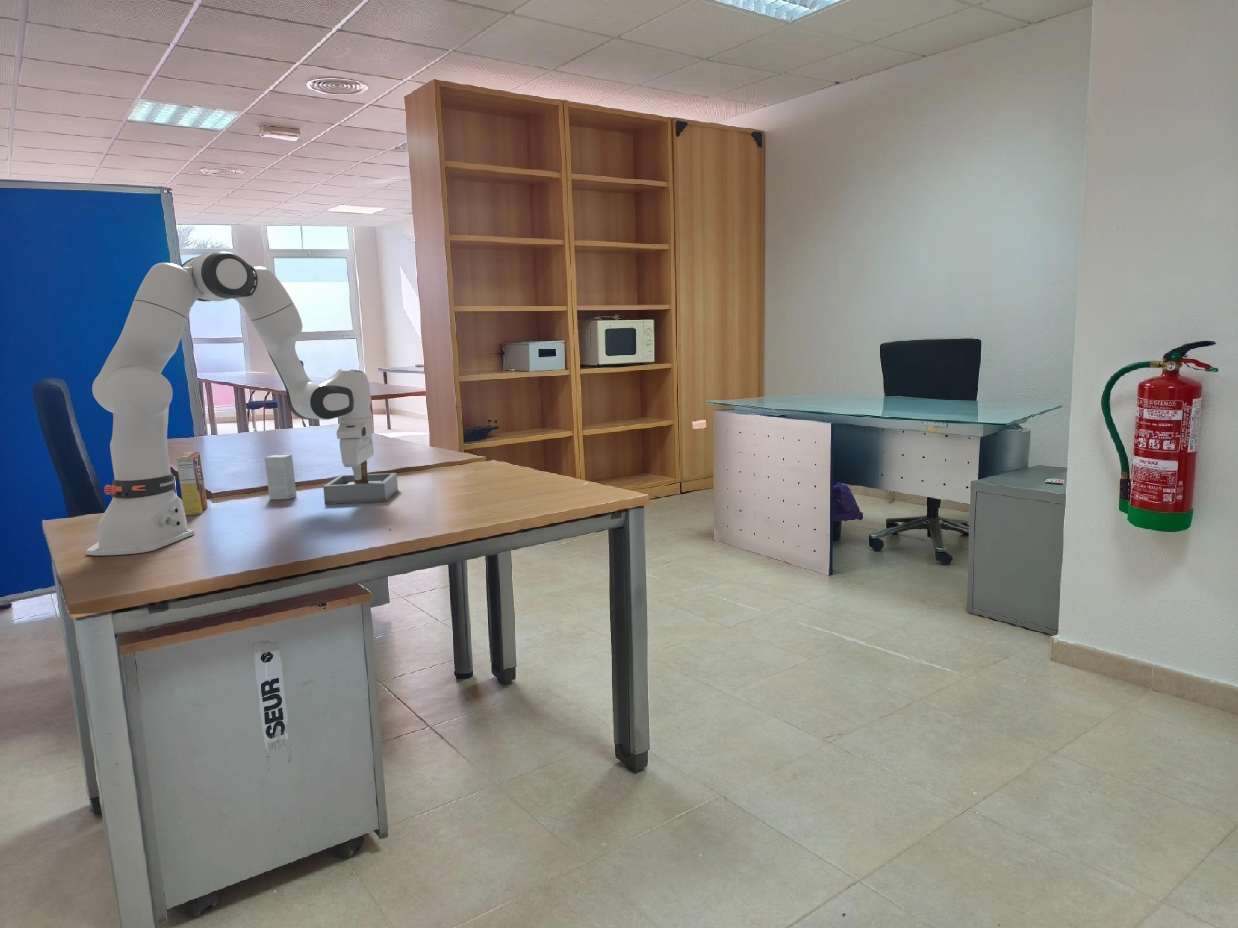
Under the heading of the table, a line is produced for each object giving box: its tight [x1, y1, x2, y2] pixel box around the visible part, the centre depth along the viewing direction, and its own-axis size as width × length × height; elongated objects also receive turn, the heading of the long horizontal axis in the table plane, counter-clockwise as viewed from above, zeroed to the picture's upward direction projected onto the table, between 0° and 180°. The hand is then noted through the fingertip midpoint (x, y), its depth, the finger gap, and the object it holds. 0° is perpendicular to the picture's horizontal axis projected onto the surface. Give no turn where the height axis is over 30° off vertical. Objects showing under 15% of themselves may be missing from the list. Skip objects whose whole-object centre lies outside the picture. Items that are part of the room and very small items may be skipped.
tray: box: [322, 472, 399, 505], centre depth 220 cm, size 16×16×5 cm
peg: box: [354, 460, 369, 484], centre depth 219 cm, size 4×4×8 cm
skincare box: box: [264, 454, 297, 501], centre depth 222 cm, size 6×4×12 cm
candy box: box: [175, 451, 208, 516], centre depth 207 cm, size 9×4×15 cm, turn 17°
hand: (360, 477), depth 219 cm, fingers closed on peg, 3 cm apart
